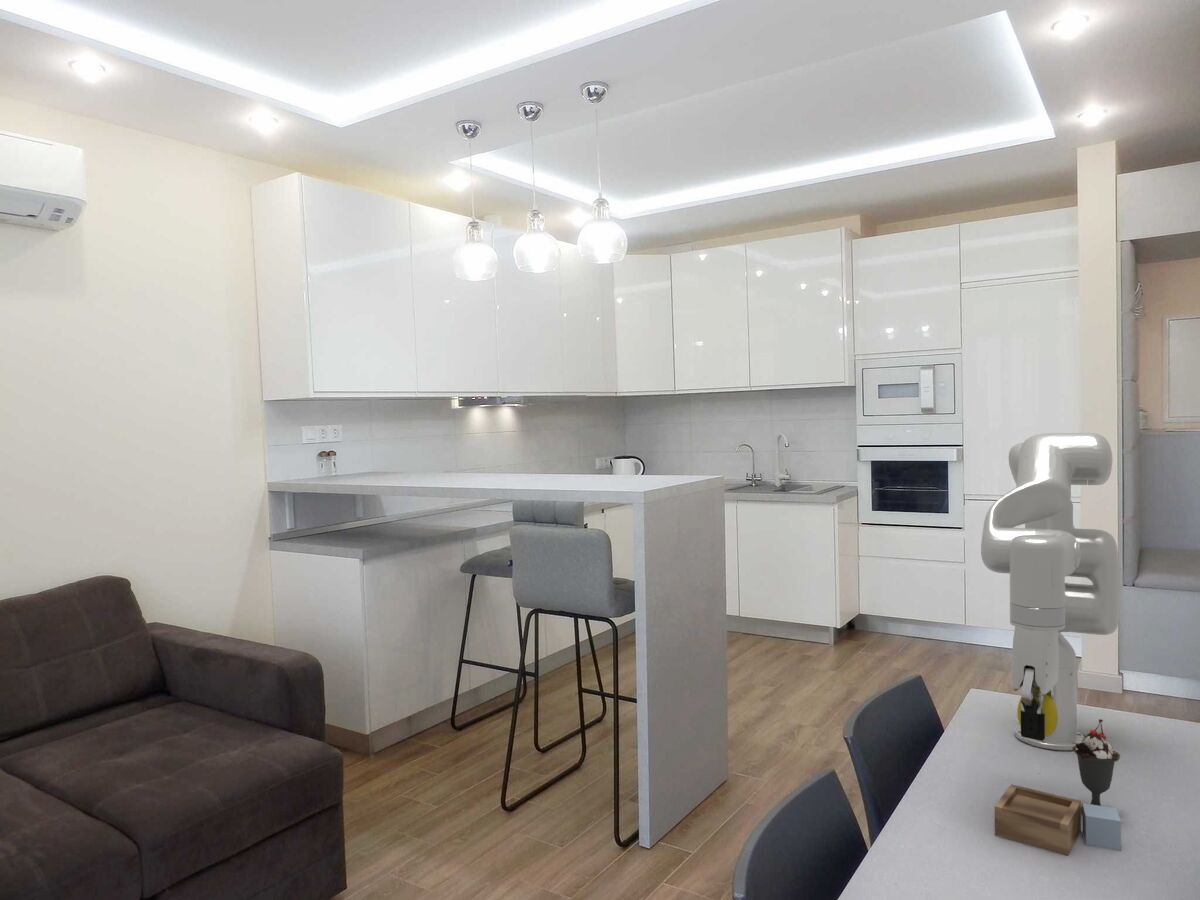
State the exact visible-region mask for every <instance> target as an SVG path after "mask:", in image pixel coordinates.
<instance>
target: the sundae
mask: <svg viewBox="0 0 1200 900" xmlns="http://www.w3.org/2000/svg"><path fill="white" fill-rule="evenodd" d="M1102 723H1103V719H1098V726H1096V728H1095V729H1091V730H1089V733H1088V734H1085V735H1084V737H1083V739H1082V741H1081V743H1076V744H1075V745H1076V746H1074V747H1072V749H1073V750H1072V751H1073V752H1074V753H1075V754H1076V756H1077V762H1078V768H1079V775H1080V779H1081V783H1082V785H1083V786H1084V787H1085V788H1086V789H1087V790H1088V791H1090V793H1091V802H1090V804H1091V805H1098V806H1102V805H1101V794H1103V793H1105V792H1106V791H1108V790H1109V789H1111V785H1112V779H1113V772H1114V767H1115V763H1116V762H1118V761H1119V760H1120V757H1121V755H1120V753H1119V752H1117V751H1115V750H1114V749H1113V747H1112V745H1111V744H1110V743H1109V742H1108V741H1107V740H1106V739H1107V736H1106V734H1105V733H1104V732H1103V731H1104V729H1103V724H1102ZM1099 727H1100V731H1101V732H1099V733H1098V731H1097V730H1098V729H1099ZM1081 815H1082V805H1081Z"/></svg>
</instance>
